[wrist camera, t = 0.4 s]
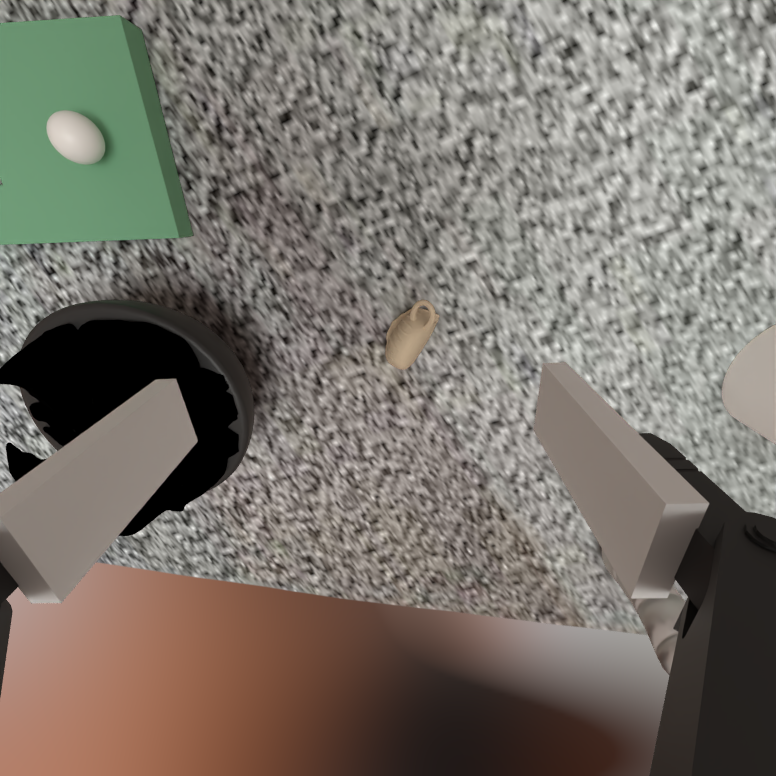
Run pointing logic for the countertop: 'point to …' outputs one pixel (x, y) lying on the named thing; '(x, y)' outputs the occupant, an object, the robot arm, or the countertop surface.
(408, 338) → the decorative ornament
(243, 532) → the countertop surface
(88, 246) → the countertop surface
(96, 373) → the coal bowl
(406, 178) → the countertop surface
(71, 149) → the ball
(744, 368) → the canister
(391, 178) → the countertop surface
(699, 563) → the robot arm
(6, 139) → the green
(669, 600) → the plastic bottle
